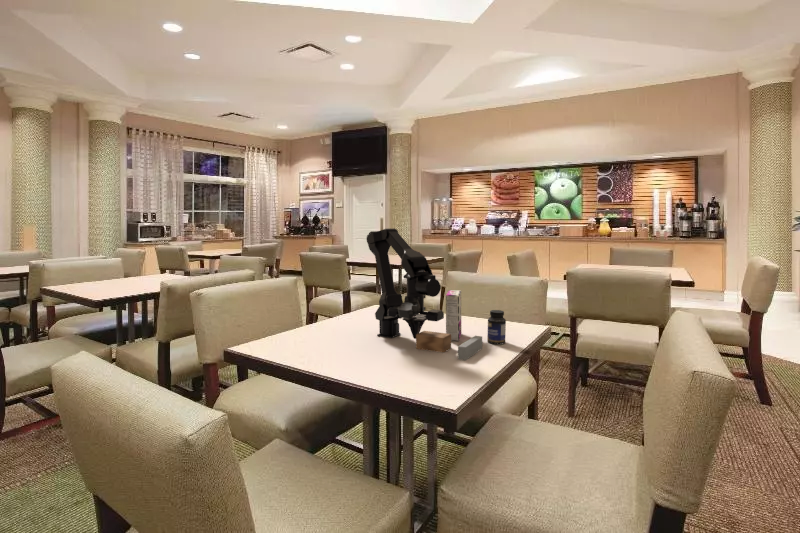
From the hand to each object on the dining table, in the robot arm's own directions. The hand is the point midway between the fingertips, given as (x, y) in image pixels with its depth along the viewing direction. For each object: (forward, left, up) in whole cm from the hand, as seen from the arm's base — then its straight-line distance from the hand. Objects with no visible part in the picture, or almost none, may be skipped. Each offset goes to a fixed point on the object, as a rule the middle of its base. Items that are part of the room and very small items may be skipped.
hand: (415, 338), depth 160 cm
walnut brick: (+7, 0, -3) cm, 7 cm away
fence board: (+20, 0, -2) cm, 20 cm away
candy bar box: (+7, +17, -3) cm, 19 cm away
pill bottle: (+23, +17, -3) cm, 29 cm away
